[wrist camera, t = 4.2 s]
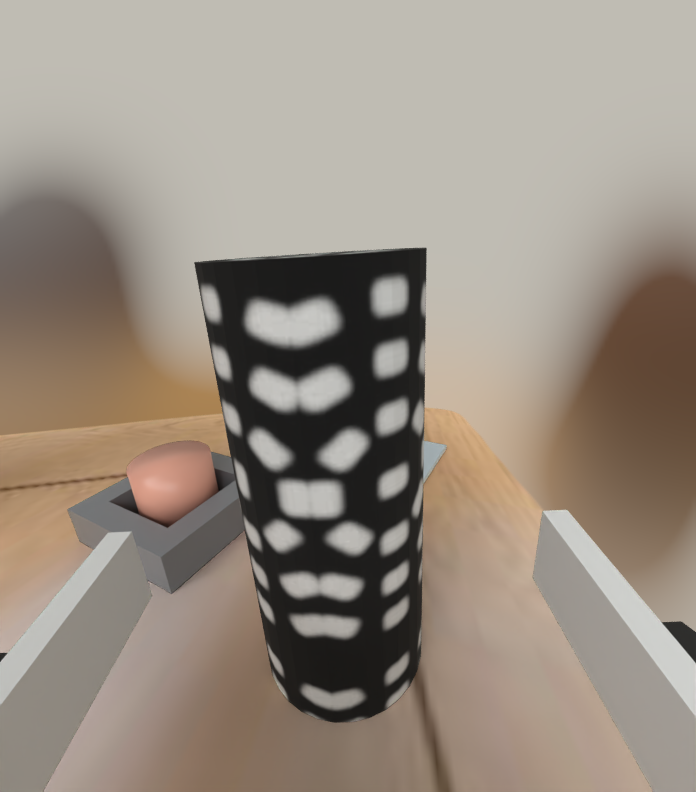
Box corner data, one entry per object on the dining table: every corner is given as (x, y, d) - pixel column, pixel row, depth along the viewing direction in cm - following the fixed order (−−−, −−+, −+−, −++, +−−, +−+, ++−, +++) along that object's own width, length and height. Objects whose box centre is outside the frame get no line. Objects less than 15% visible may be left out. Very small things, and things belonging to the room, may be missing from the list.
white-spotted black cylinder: (355, 558, 27) (335, 251, 20) (453, 644, 21) (476, 244, 14) (243, 630, 22) (164, 263, 15) (328, 770, 16) (262, 261, 9)
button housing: (79, 541, 30) (67, 509, 29) (193, 471, 39) (187, 445, 38) (171, 593, 25) (160, 557, 24) (279, 499, 34) (275, 469, 33)
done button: (125, 518, 31) (109, 469, 29) (187, 479, 35) (177, 435, 34) (174, 542, 28) (160, 488, 26) (235, 496, 33) (226, 448, 31)
